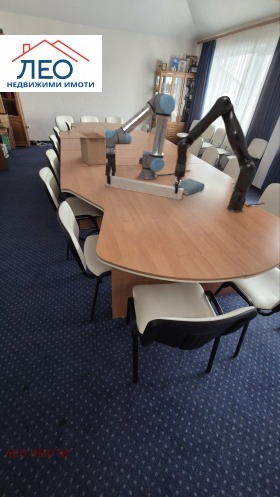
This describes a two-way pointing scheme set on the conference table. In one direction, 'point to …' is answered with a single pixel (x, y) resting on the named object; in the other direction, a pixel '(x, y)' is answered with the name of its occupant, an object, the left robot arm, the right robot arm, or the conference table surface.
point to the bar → (145, 187)
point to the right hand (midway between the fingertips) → (176, 191)
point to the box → (92, 146)
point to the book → (190, 186)
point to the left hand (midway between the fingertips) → (111, 181)
